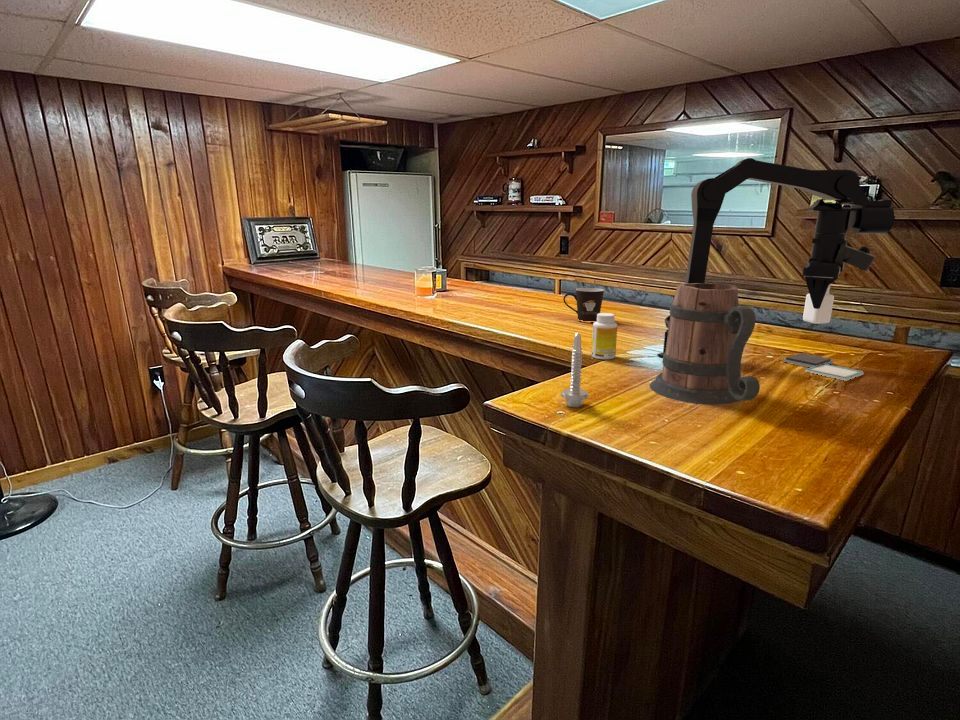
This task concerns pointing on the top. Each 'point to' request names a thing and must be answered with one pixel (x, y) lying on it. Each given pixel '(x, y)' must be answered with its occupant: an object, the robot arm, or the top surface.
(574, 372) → the screw
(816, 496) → the top surface
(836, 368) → the print card
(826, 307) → the pepper shaker
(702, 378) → the tankard
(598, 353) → the supplement bottle
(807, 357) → the pad
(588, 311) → the coffee mug
